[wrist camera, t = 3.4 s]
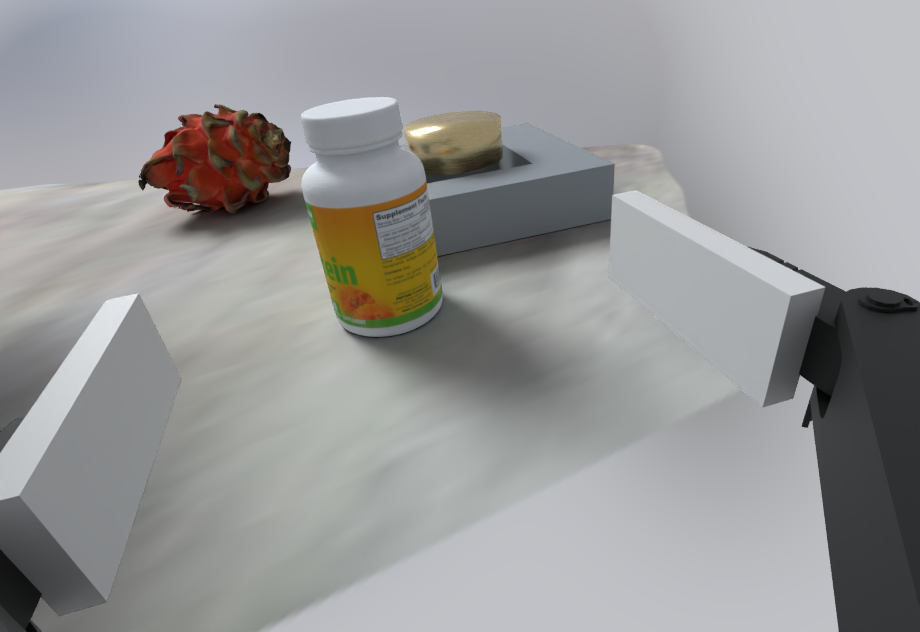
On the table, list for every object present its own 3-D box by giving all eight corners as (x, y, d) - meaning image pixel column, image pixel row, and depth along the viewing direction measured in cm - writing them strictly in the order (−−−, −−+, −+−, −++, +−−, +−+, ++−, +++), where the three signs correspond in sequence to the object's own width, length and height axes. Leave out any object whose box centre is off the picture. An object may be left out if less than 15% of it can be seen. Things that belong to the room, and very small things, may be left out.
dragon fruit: (320, 207, 46) (186, 261, 43) (285, 138, 49) (156, 185, 46) (297, 141, 38) (132, 202, 36) (257, 63, 41) (100, 115, 38)
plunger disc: (420, 181, 32) (413, 140, 31) (402, 157, 38) (396, 121, 36) (516, 162, 33) (514, 122, 32) (486, 142, 39) (483, 107, 37)
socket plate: (361, 272, 30) (348, 215, 28) (343, 200, 42) (333, 157, 40) (611, 219, 33) (614, 163, 31) (529, 165, 45) (528, 123, 43)
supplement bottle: (318, 313, 27) (260, 115, 22) (404, 274, 29) (370, 90, 24) (373, 354, 23) (319, 127, 18) (465, 306, 26) (441, 97, 21)
